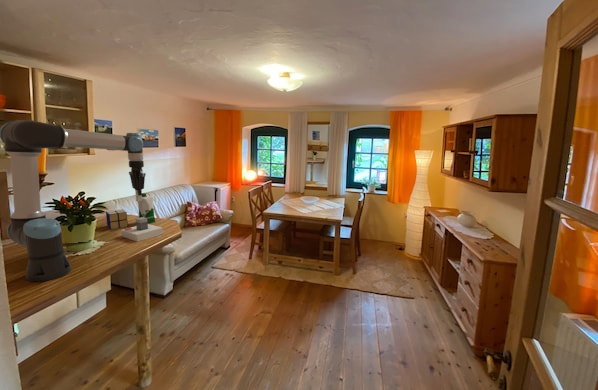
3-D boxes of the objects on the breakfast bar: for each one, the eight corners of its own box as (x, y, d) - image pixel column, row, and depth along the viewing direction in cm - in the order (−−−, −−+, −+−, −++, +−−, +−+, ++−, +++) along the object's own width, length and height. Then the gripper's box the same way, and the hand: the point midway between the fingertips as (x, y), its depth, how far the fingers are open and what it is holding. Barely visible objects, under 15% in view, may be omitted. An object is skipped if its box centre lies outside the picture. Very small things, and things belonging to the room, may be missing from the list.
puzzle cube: (107, 226, 198) (105, 211, 196) (124, 223, 204) (122, 209, 202) (110, 229, 190) (108, 214, 188) (128, 226, 197) (126, 211, 195)
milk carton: (148, 220, 212) (146, 192, 208) (157, 221, 209) (155, 193, 205) (137, 223, 204) (134, 194, 200) (146, 225, 201) (144, 195, 197)
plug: (141, 236, 178) (140, 219, 176) (137, 234, 180) (135, 218, 178) (148, 234, 182) (147, 218, 180) (144, 232, 184) (142, 217, 182)
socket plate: (137, 241, 170) (136, 233, 169) (121, 236, 178) (121, 228, 177) (162, 234, 184) (162, 226, 183) (147, 229, 192) (146, 222, 191)
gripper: (149, 160, 172) (151, 201, 176) (135, 159, 179) (138, 198, 183) (136, 161, 166) (139, 203, 170) (123, 160, 172) (126, 200, 177)
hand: (139, 200), depth 176 cm, fingers closed
